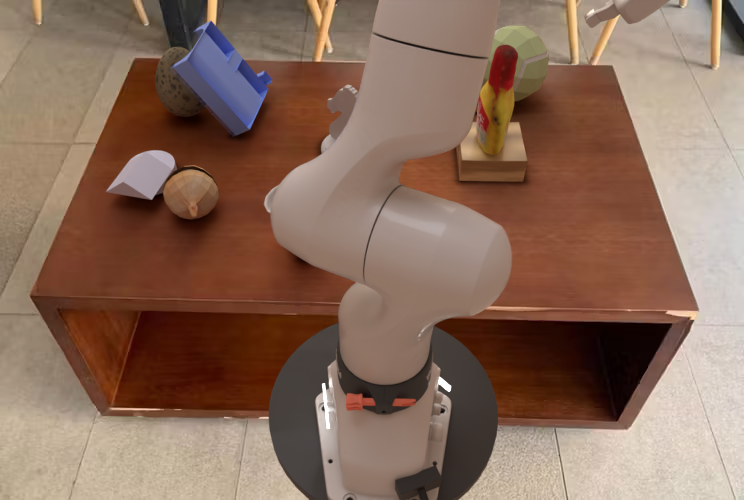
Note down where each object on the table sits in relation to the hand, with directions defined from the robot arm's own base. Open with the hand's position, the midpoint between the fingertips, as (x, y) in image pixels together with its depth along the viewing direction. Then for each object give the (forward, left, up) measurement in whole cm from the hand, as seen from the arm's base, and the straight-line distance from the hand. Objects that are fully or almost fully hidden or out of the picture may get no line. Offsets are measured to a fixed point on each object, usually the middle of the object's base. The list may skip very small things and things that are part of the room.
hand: (580, 7), depth 103 cm
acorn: (-4, +65, -32) cm, 72 cm away
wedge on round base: (-10, +75, -31) cm, 82 cm away
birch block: (+5, +9, -34) cm, 36 cm away
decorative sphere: (+27, +1, -19) cm, 33 cm away
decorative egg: (+19, +71, -34) cm, 81 cm away
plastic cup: (-20, +41, -34) cm, 57 cm away
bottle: (+5, +10, -29) cm, 31 cm away
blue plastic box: (+19, +60, -23) cm, 67 cm away
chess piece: (+8, +37, -34) cm, 51 cm away
